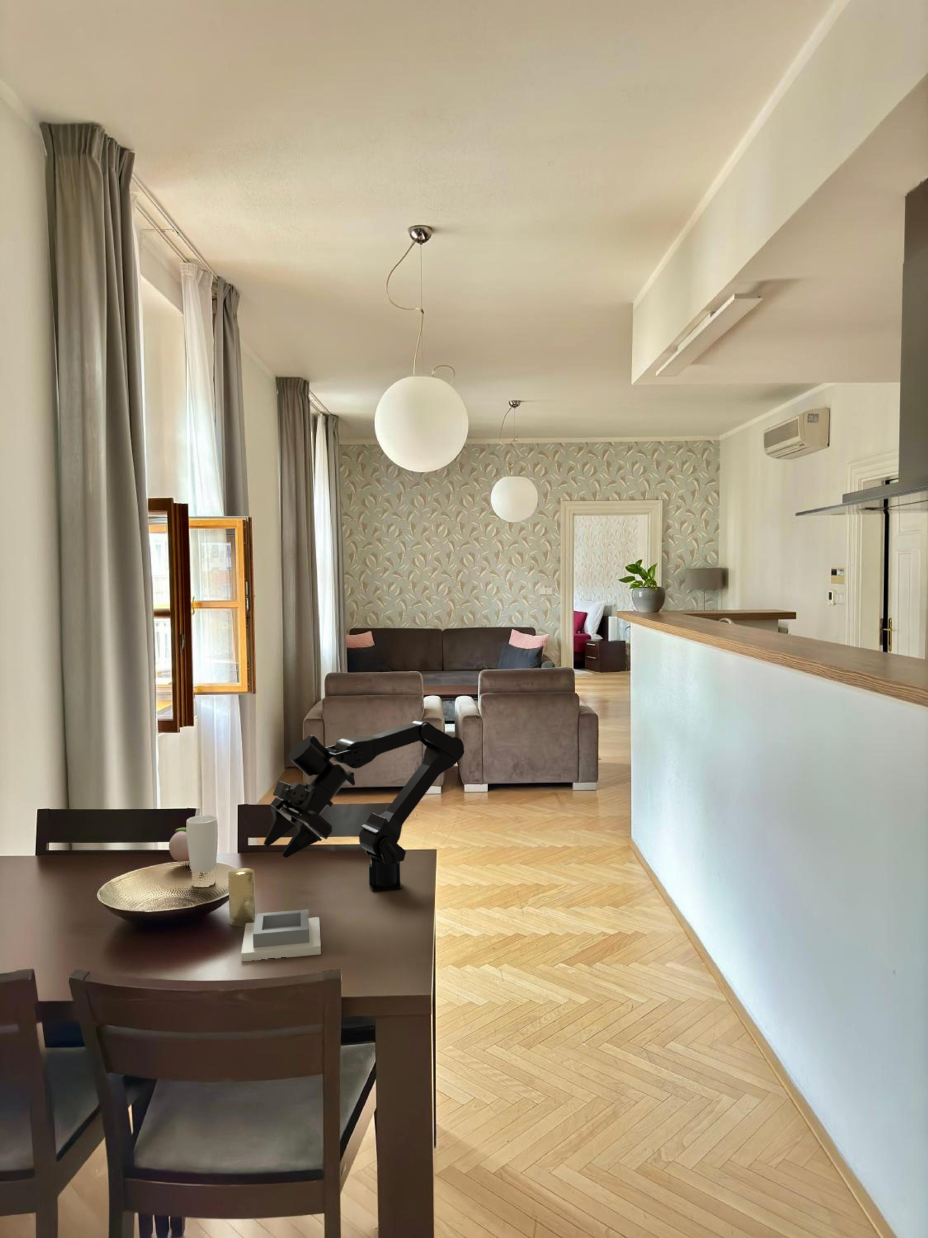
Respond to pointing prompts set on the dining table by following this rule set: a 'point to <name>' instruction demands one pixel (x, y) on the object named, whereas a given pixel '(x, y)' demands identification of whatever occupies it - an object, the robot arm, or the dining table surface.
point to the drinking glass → (202, 842)
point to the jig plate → (281, 935)
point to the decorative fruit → (179, 845)
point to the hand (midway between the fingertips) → (274, 851)
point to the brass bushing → (241, 897)
